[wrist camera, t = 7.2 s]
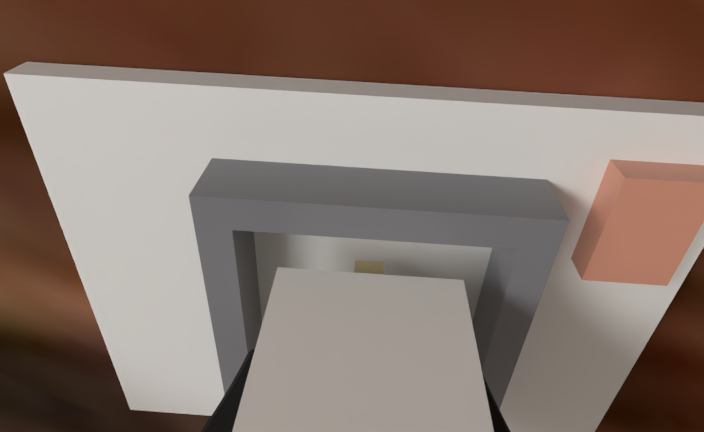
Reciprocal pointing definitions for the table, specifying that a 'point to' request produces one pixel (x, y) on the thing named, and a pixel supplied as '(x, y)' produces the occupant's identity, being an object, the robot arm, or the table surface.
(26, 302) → the table surface
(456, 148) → the socket plate
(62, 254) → the table surface
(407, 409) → the plug
